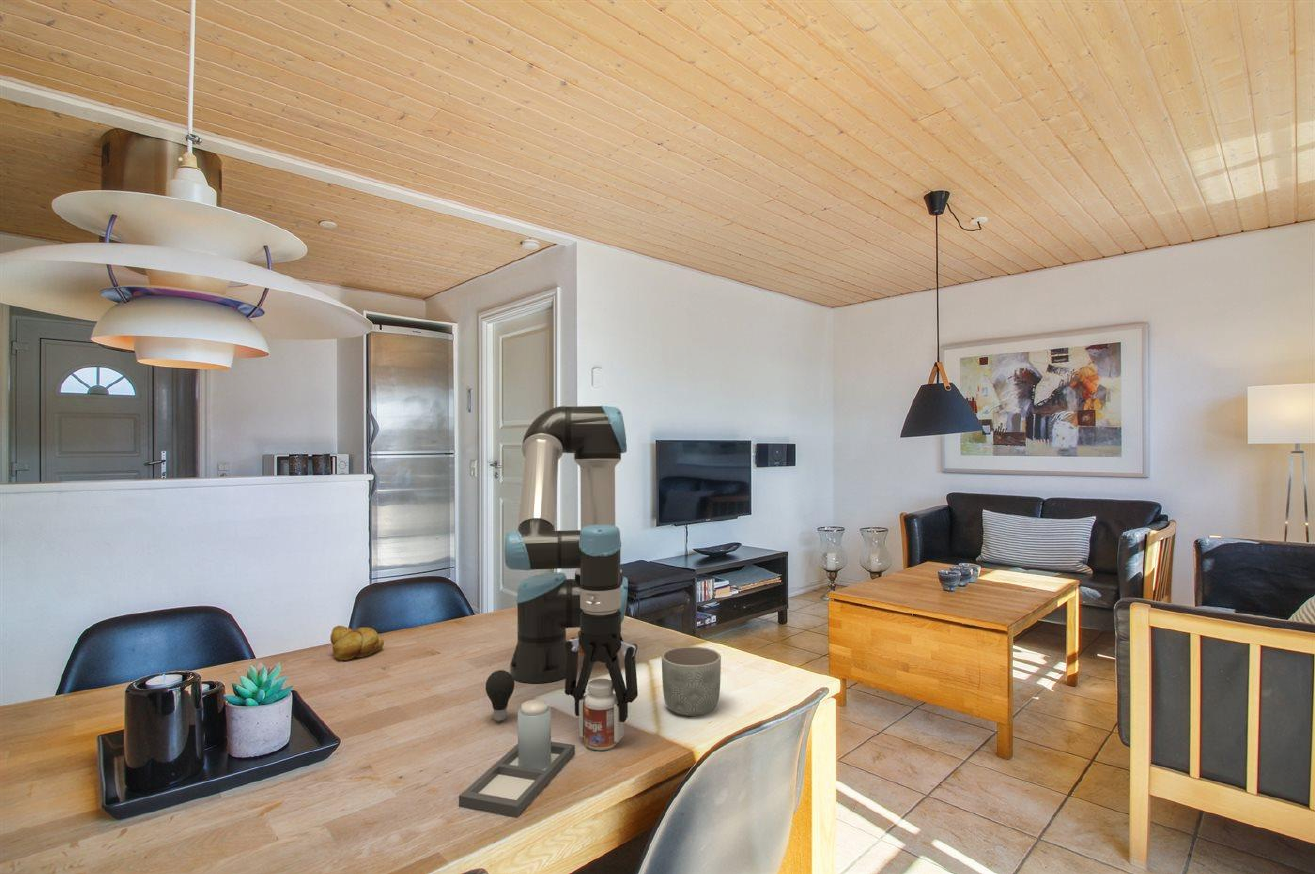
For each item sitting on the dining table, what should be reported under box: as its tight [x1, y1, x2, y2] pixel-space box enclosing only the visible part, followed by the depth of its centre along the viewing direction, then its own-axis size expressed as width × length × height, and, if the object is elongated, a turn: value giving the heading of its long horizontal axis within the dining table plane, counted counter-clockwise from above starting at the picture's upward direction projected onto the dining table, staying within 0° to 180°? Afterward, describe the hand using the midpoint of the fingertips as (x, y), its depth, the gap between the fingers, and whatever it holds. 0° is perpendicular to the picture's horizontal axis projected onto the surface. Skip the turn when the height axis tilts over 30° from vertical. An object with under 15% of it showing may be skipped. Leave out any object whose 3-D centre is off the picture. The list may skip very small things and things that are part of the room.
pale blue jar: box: [517, 699, 552, 770], centre depth 108 cm, size 6×6×10 cm
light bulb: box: [485, 669, 515, 723], centre depth 126 cm, size 6×6×10 cm
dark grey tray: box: [458, 741, 576, 818], centre depth 104 cm, size 10×20×2 cm, turn 163°
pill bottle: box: [583, 678, 618, 751], centre depth 116 cm, size 6×6×11 cm
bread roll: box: [329, 625, 385, 661], centre depth 166 cm, size 13×10×8 cm
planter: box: [661, 645, 722, 717], centre depth 131 cm, size 12×12×11 cm
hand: (601, 735), depth 116 cm, fingers closed on pill bottle, 6 cm apart
